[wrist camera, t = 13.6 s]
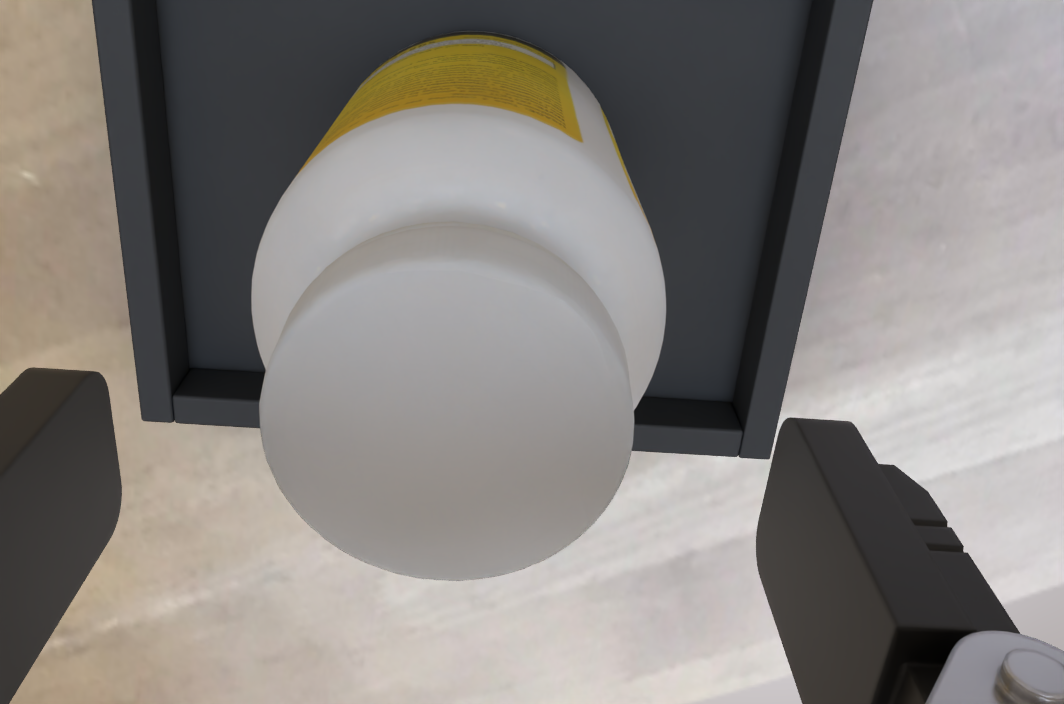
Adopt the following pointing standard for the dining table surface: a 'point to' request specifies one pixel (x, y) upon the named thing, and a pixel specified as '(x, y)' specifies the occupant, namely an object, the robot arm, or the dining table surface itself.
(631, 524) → the dining table surface
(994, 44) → the dining table surface
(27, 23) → the dining table surface
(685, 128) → the holder
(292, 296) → the pill bottle
